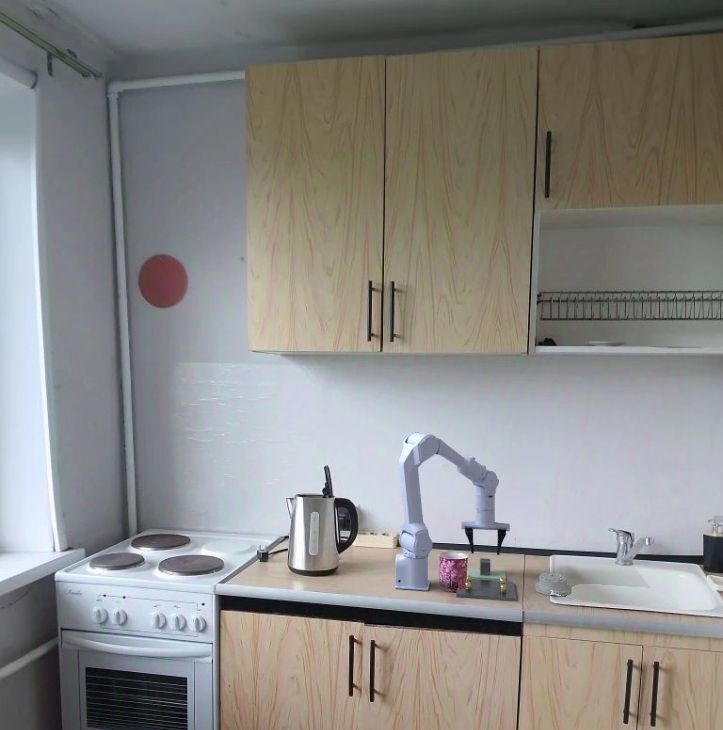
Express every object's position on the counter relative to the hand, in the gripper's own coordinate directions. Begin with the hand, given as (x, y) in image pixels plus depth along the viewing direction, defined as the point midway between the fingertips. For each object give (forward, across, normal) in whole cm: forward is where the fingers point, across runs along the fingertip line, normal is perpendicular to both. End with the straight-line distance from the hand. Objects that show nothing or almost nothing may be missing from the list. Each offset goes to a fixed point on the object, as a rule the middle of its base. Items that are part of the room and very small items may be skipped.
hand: (485, 553), depth 189 cm
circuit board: (+7, 0, 0) cm, 7 cm away
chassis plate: (+6, 0, +14) cm, 16 cm away
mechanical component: (+7, -19, +10) cm, 22 cm away
